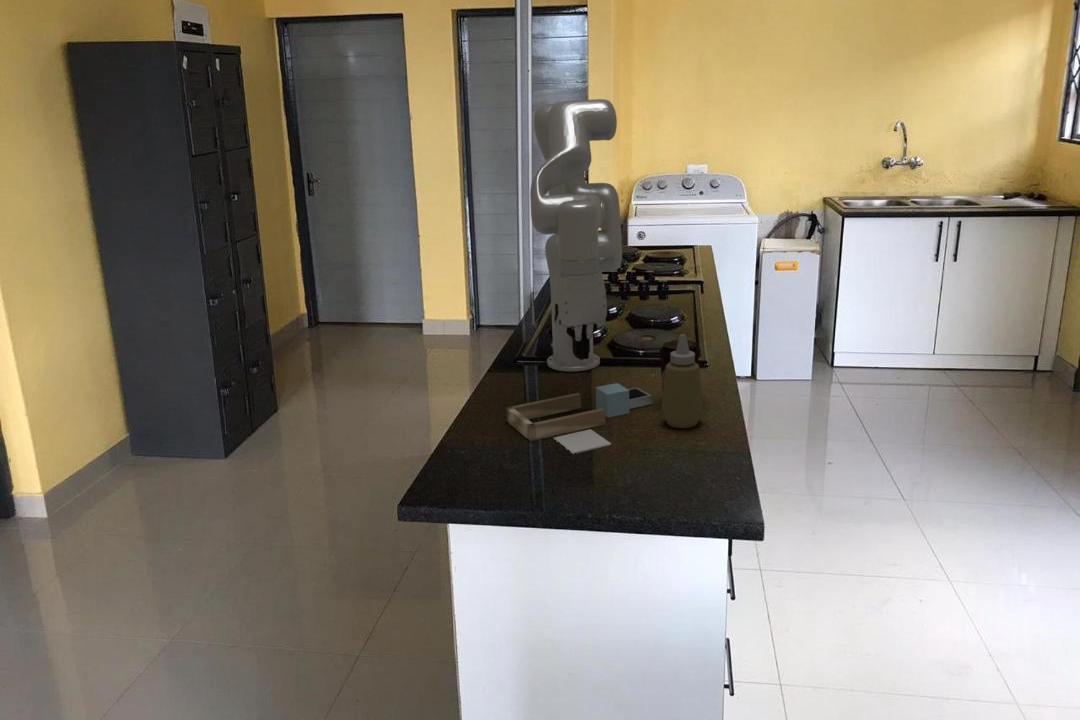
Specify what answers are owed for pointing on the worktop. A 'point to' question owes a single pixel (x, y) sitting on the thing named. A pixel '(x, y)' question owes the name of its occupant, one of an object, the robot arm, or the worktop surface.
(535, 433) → the cubby
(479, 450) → the worktop surface
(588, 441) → the mat
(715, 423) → the worktop surface
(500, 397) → the worktop surface
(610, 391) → the blue block
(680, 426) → the squeeze bottle
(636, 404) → the tray
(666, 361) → the coffee cup
